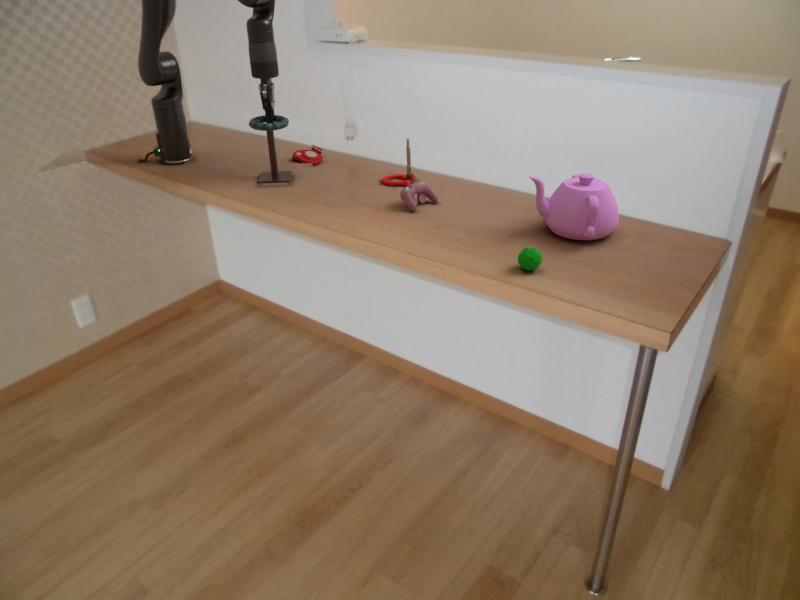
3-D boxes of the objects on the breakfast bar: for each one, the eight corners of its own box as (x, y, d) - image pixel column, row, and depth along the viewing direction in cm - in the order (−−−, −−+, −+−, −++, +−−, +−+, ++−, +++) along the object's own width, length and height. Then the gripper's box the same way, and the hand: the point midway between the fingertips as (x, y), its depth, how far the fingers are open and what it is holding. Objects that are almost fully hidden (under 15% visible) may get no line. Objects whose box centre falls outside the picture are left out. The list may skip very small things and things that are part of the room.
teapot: (517, 213, 157) (522, 160, 151) (603, 213, 157) (611, 160, 150) (530, 249, 138) (536, 191, 131) (628, 250, 137) (639, 191, 131)
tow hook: (377, 185, 179) (407, 187, 175) (374, 141, 173) (405, 142, 169) (389, 177, 186) (417, 179, 182) (386, 134, 179) (415, 135, 176)
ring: (247, 132, 169) (246, 124, 168) (252, 121, 179) (251, 114, 178) (287, 131, 170) (286, 123, 169) (290, 120, 180) (289, 113, 179)
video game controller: (429, 205, 168) (421, 180, 166) (440, 201, 164) (432, 176, 163) (403, 215, 162) (394, 189, 160) (414, 211, 158) (405, 185, 157)
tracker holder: (324, 162, 194) (292, 156, 192) (322, 174, 197) (290, 168, 195) (324, 143, 203) (294, 137, 201) (322, 155, 206) (292, 149, 204)
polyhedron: (512, 269, 130) (514, 248, 128) (525, 261, 133) (527, 241, 131) (532, 276, 127) (534, 255, 125) (545, 269, 130) (547, 248, 127)
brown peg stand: (258, 186, 178) (251, 129, 170) (262, 176, 186) (255, 121, 178) (289, 185, 179) (283, 128, 171) (292, 175, 187) (286, 120, 178)
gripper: (252, 55, 176) (260, 117, 184) (246, 63, 164) (254, 128, 172) (279, 54, 176) (285, 116, 185) (274, 62, 164) (281, 127, 173)
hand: (270, 121), depth 178 cm, fingers closed on ring, 2 cm apart
